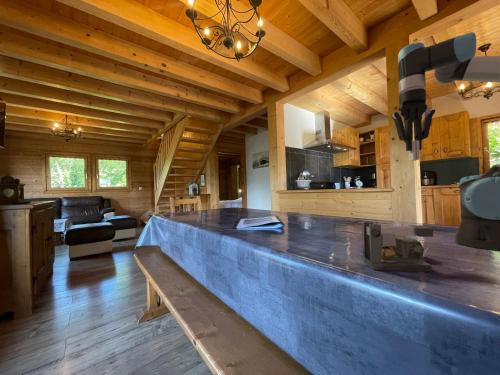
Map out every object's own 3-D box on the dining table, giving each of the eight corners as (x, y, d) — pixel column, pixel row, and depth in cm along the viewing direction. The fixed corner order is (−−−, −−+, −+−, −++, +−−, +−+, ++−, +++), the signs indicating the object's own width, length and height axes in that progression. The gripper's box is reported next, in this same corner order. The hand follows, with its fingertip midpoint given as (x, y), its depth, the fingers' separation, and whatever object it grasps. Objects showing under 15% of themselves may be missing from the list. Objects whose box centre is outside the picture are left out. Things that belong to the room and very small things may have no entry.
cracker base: (416, 262, 58) (414, 221, 58) (432, 272, 52) (430, 225, 52) (363, 261, 60) (361, 221, 60) (372, 270, 54) (371, 225, 54)
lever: (421, 242, 57) (421, 225, 57) (433, 247, 52) (433, 228, 53) (365, 242, 59) (364, 225, 59) (372, 246, 55) (371, 228, 55)
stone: (422, 268, 64) (435, 242, 60) (406, 277, 62) (419, 250, 57) (380, 240, 75) (388, 216, 71) (365, 246, 73) (373, 221, 68)
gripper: (426, 95, 78) (428, 160, 78) (385, 98, 80) (387, 162, 80) (441, 85, 71) (444, 157, 71) (396, 89, 73) (398, 159, 73)
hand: (414, 160), depth 75 cm, fingers closed
